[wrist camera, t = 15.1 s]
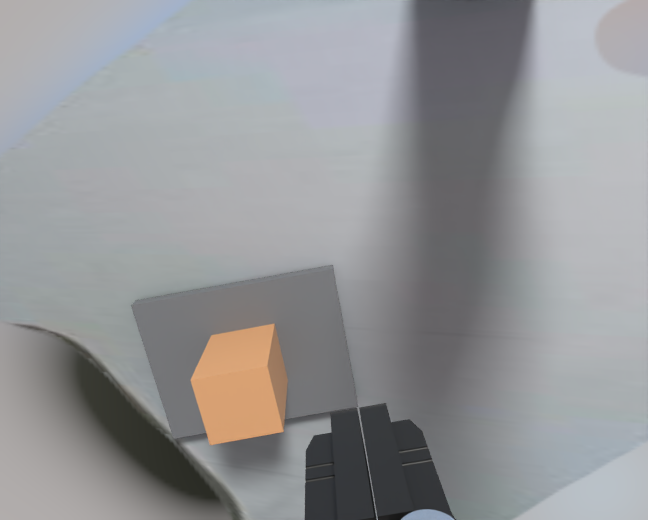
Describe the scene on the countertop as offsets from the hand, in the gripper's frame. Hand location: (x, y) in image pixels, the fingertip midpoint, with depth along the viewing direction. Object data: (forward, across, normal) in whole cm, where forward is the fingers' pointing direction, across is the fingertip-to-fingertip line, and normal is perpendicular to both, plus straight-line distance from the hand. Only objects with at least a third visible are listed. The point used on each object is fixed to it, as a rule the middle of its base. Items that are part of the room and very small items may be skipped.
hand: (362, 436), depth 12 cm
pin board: (+29, +9, +11) cm, 32 cm away
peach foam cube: (+27, +9, +11) cm, 31 cm away
